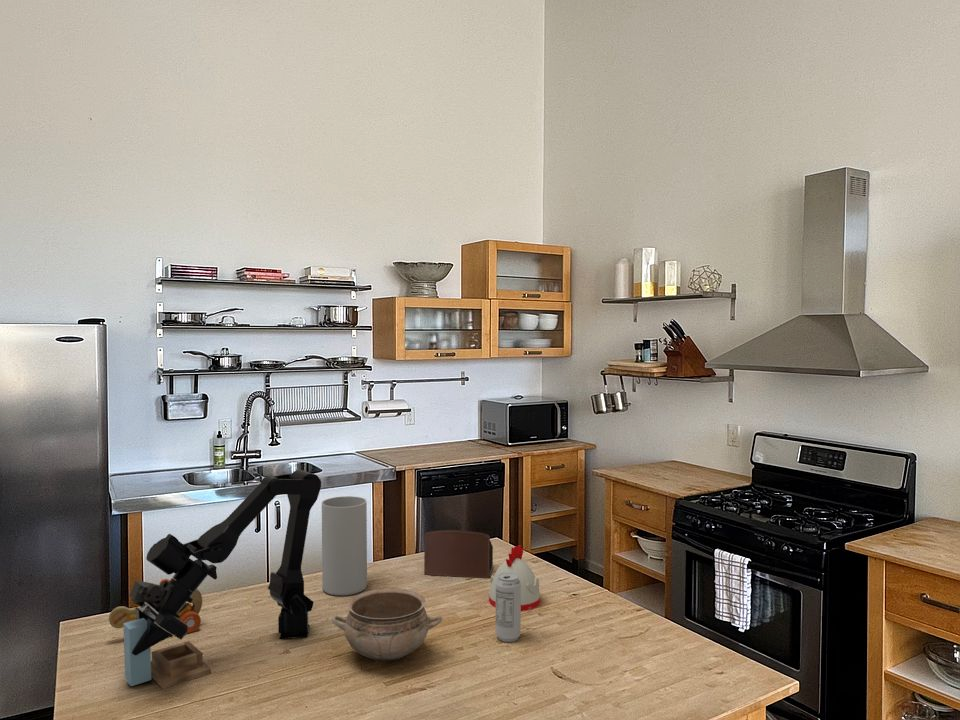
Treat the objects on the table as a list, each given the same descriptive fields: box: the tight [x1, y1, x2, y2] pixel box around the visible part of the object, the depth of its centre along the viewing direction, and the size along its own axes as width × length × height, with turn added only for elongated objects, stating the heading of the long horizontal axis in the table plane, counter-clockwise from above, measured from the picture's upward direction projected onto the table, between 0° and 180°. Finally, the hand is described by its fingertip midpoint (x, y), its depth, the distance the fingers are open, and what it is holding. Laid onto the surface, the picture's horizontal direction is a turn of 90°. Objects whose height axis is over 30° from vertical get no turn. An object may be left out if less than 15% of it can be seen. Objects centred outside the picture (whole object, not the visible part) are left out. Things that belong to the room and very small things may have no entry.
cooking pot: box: [331, 588, 443, 663], centre depth 162 cm, size 25×19×12 cm
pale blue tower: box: [123, 618, 152, 687], centre depth 150 cm, size 4×4×12 cm
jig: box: [151, 640, 212, 690], centre depth 155 cm, size 10×12×4 cm
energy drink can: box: [495, 573, 522, 643], centre depth 172 cm, size 6×6×15 cm
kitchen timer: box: [488, 544, 541, 612], centre depth 194 cm, size 14×14×15 cm
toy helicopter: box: [108, 578, 203, 634], centre depth 174 cm, size 8×21×14 cm, turn 122°
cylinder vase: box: [321, 495, 368, 597], centre depth 203 cm, size 12×12×25 cm
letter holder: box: [423, 529, 494, 579], centre depth 217 cm, size 10×20×14 cm, turn 83°
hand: (130, 650), depth 149 cm, fingers closed on pale blue tower, 4 cm apart
